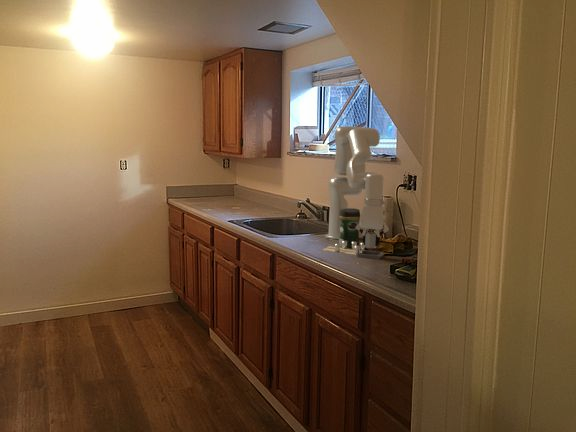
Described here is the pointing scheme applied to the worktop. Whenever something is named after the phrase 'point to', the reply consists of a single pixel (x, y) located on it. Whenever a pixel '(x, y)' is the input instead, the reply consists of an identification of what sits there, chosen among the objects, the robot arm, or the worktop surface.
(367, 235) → the nut
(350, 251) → the board
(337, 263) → the worktop surface
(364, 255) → the tray
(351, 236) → the coffee jar
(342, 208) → the robot arm
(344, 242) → the spacers
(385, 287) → the worktop surface
